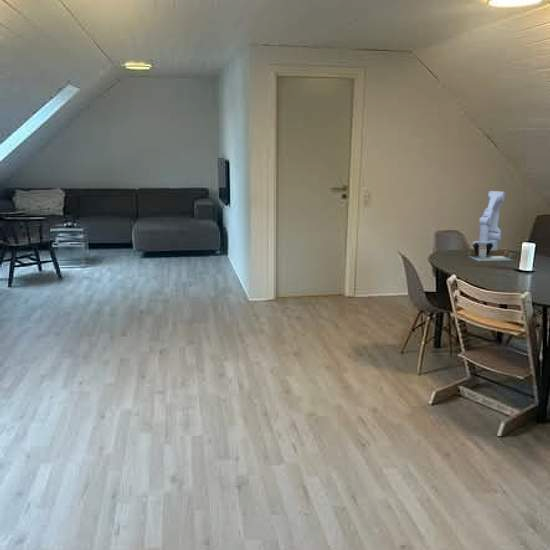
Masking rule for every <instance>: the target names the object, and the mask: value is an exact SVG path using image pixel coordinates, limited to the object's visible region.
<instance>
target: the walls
mask: <svg viewBox="0 0 550 550" xmlns="http://www.w3.org/2000/svg"><path fill="white" fill-rule="evenodd" d="M468 256H478V255H475V250H467V257H468ZM486 256H504V257H507V258H509V259H512V260H511V261H516V258H517V255H516V254H515V253H512V252H509V251H507V250H504V249H498V250H490V252H489V255H487V254H486Z"/></svg>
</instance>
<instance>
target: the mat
mask: <svg viewBox="0 0 550 550" xmlns="http://www.w3.org/2000/svg"><path fill="white" fill-rule="evenodd" d="M467 257H469V258H471V259H472V260H475V261H478V262H482V261H483V262H485V261H484V260H482V259H480V258H478V256H467ZM489 257H491V258H492V261H491V262H493V261H513V260H512V259H509V258H507V257H504V256H489Z"/></svg>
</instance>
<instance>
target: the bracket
mask: <svg viewBox="0 0 550 550" xmlns="http://www.w3.org/2000/svg"><path fill="white" fill-rule="evenodd" d="M486 252H487V249H484V248H479V249H478V258H480V259H482V260H484V261H483V262H488V261H489V262H493V261H492V258H491V257H489V256H486Z"/></svg>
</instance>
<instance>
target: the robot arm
mask: <svg viewBox="0 0 550 550" xmlns="http://www.w3.org/2000/svg"><path fill="white" fill-rule="evenodd" d="M505 197H506V194H505V191H502V190H501V191H500V190H499V191H497V190H489V191H488V194H487V199H488V204H487V207H486V208H484V211H483V213H482V216H481V217H479V219H478V220H479V221H478V224H479V235H478V240H473V241H472V242H471V244H472V246H473V248H474V251H475V255H478V249H480V245H484V248H483V249H487V252H486V254H487V255H489V252H490V250H499V249H498V248H499V242H501V240H502V230H501V229H500V228H499V221H500V213H501V206H502V204H504V203H505Z"/></svg>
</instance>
